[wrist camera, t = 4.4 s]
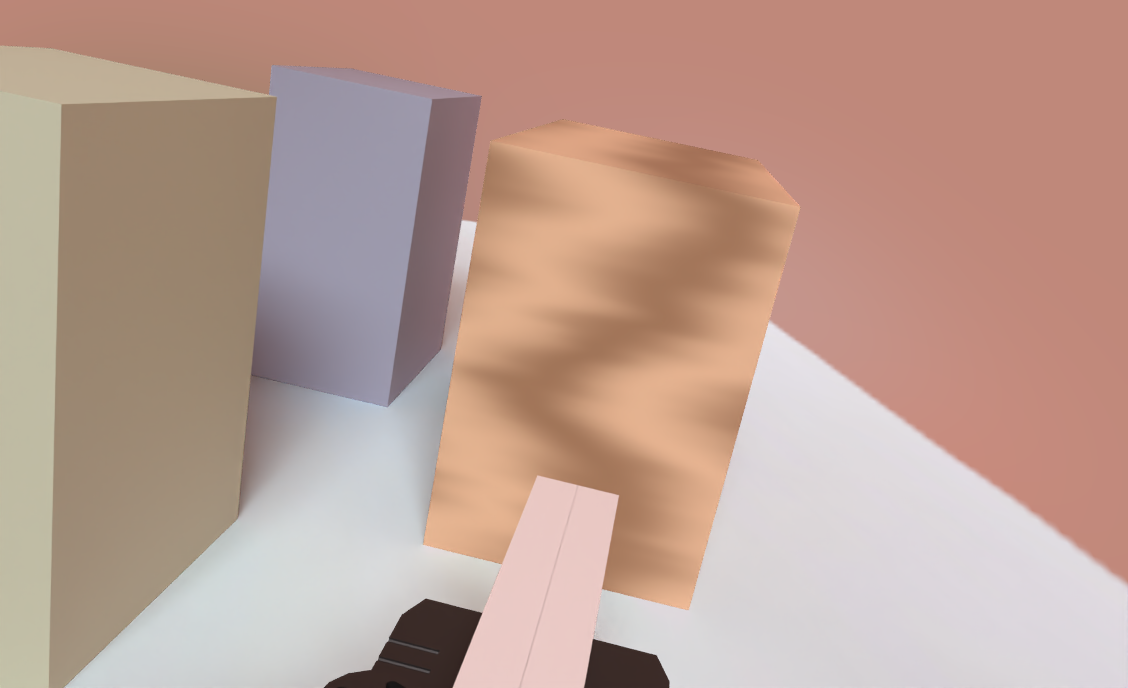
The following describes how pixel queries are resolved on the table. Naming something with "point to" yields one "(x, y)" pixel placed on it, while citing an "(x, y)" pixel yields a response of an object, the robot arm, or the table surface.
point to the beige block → (118, 340)
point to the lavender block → (360, 229)
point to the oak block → (609, 342)
